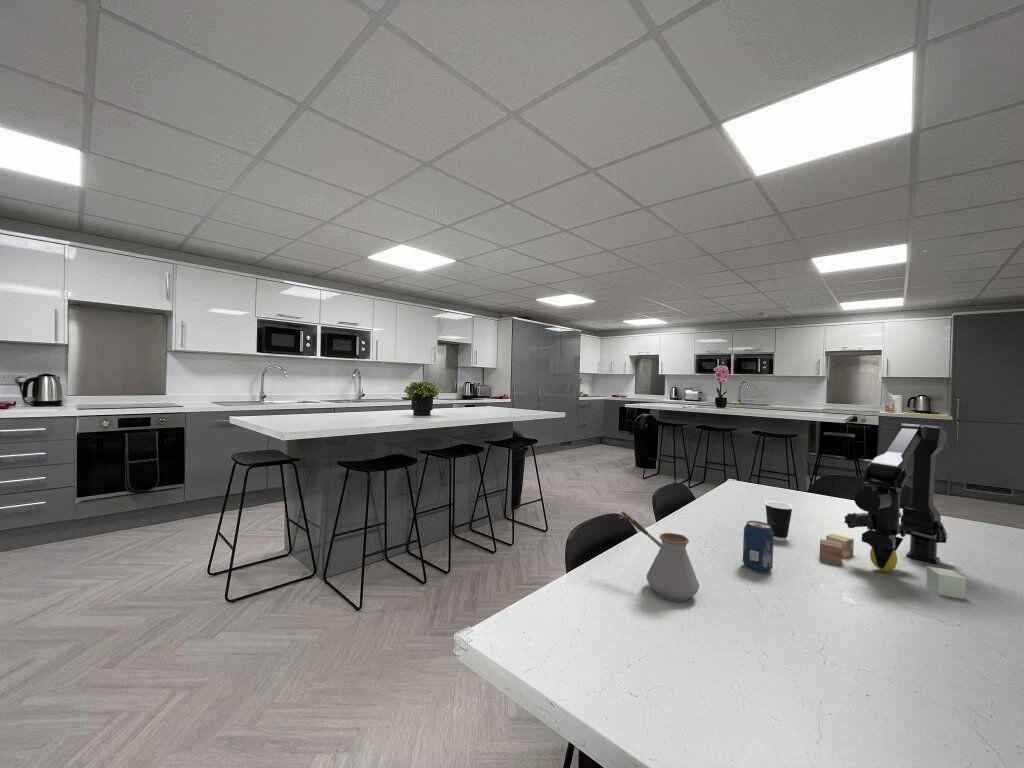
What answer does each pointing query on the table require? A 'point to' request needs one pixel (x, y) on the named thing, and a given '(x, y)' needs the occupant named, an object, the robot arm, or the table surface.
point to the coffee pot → (670, 566)
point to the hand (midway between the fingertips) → (883, 565)
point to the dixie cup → (778, 519)
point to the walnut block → (831, 552)
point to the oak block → (843, 543)
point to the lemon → (889, 565)
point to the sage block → (946, 582)
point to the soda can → (758, 546)
